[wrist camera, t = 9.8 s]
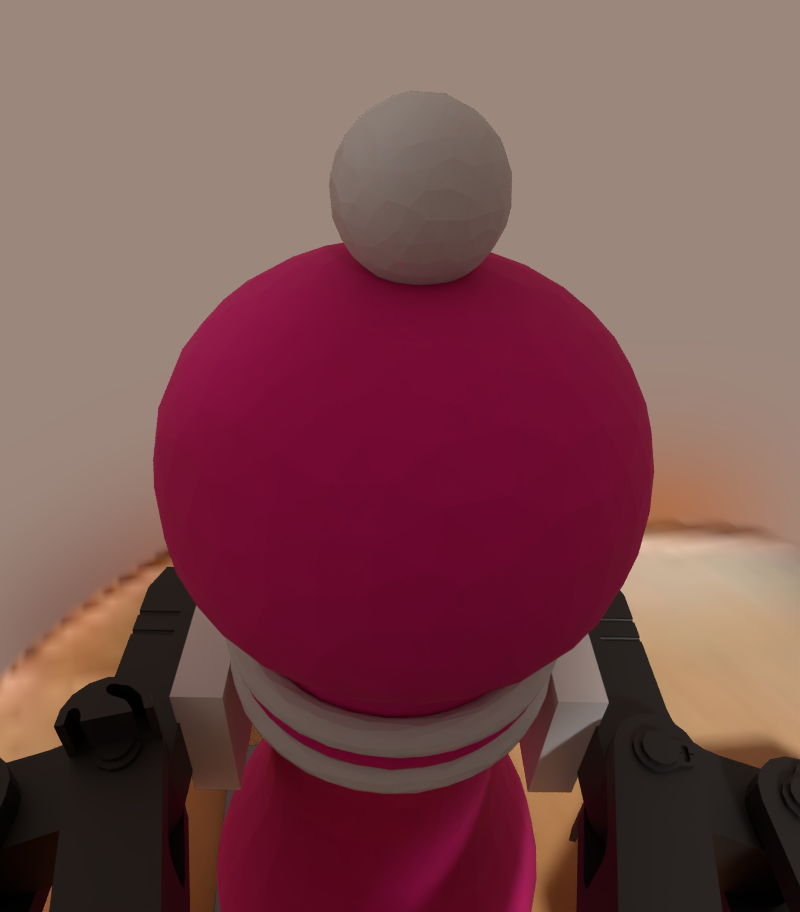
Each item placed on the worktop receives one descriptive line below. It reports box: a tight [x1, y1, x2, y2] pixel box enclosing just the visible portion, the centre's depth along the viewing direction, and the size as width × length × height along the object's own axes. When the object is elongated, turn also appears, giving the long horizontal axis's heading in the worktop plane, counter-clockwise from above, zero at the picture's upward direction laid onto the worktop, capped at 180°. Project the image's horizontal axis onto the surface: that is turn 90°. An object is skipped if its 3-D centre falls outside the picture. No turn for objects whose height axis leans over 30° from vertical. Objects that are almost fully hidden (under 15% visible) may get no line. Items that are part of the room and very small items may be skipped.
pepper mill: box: [153, 91, 654, 912], centre depth 12 cm, size 7×7×20 cm
